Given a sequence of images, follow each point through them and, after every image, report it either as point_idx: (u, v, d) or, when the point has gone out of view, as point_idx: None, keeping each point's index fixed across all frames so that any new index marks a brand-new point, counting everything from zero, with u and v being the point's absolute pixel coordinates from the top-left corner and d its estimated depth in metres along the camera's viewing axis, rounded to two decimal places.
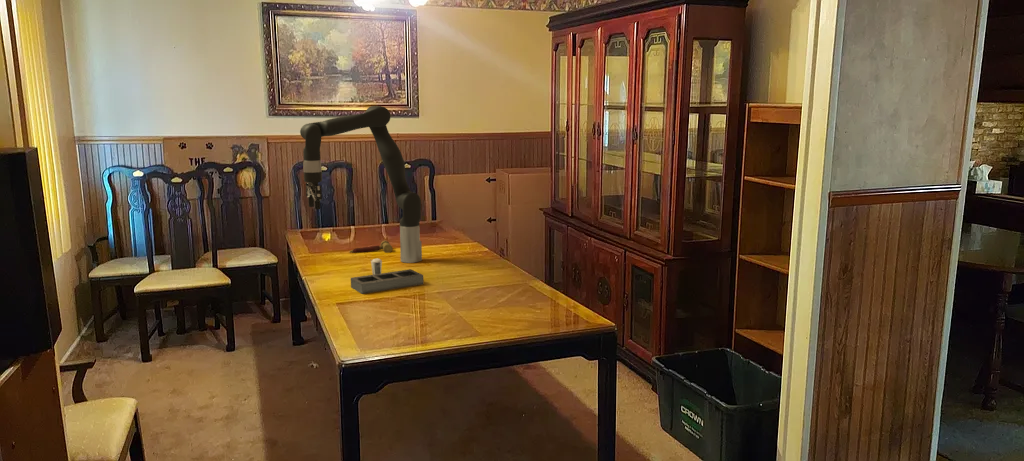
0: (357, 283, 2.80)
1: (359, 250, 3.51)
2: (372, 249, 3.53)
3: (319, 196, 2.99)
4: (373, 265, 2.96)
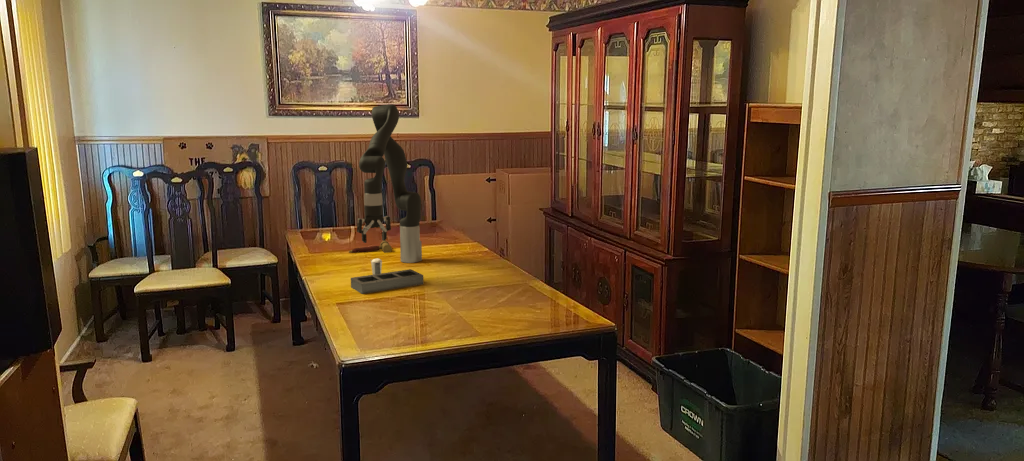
0: (357, 283, 2.80)
1: (359, 250, 3.51)
2: (371, 249, 3.53)
3: None
4: (373, 265, 2.96)
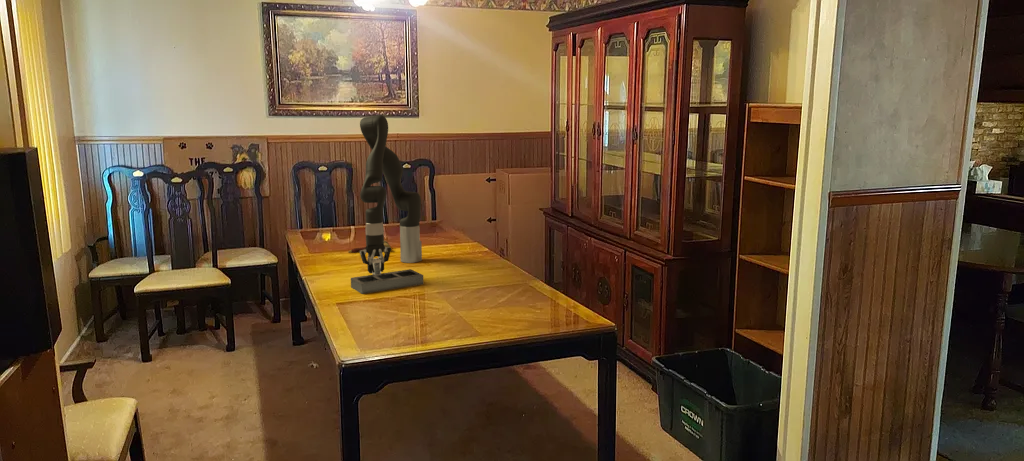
0: (357, 283, 2.80)
1: (358, 250, 3.51)
2: None
3: None
4: (373, 265, 2.96)
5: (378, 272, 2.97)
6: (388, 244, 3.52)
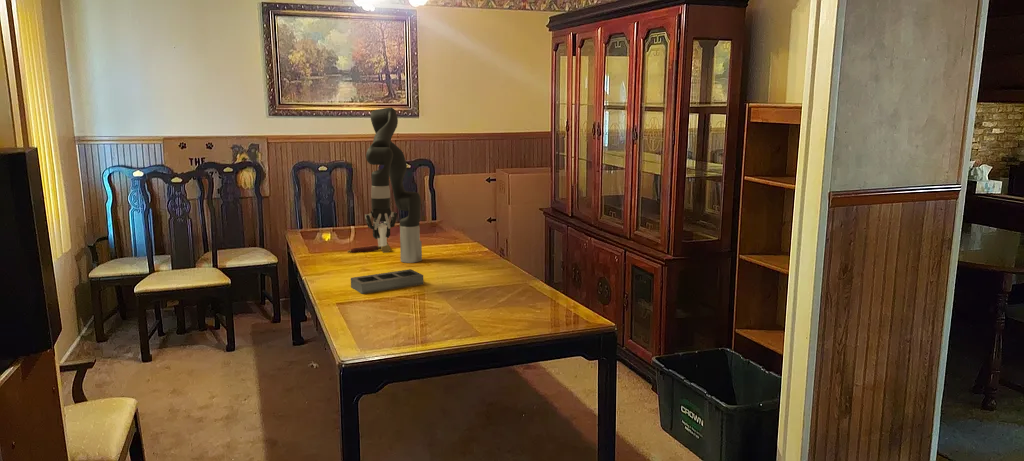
0: (357, 283, 2.80)
1: (357, 249, 3.51)
2: (370, 249, 3.53)
3: None
4: (378, 230, 2.84)
5: (383, 238, 2.85)
6: (387, 244, 3.52)
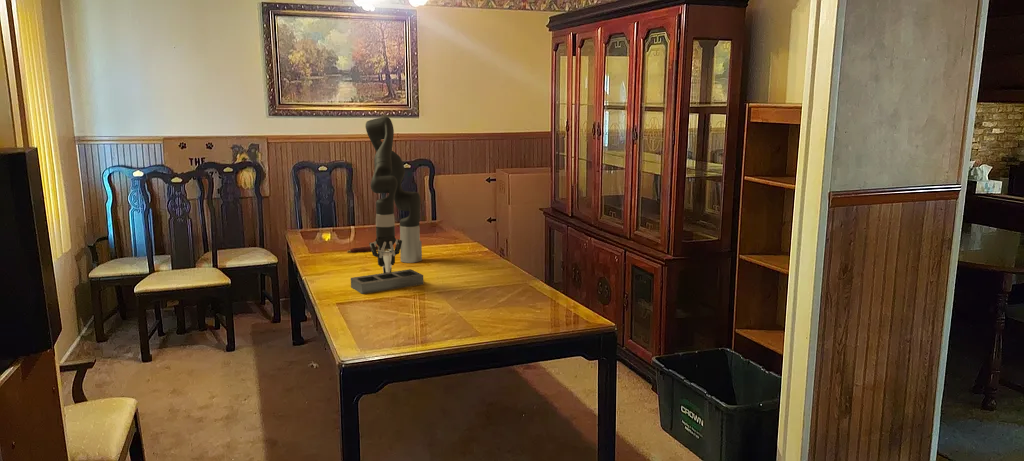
0: (357, 283, 2.80)
1: (357, 249, 3.51)
2: (370, 249, 3.53)
3: None
4: (383, 258, 2.85)
5: (388, 265, 2.86)
6: None
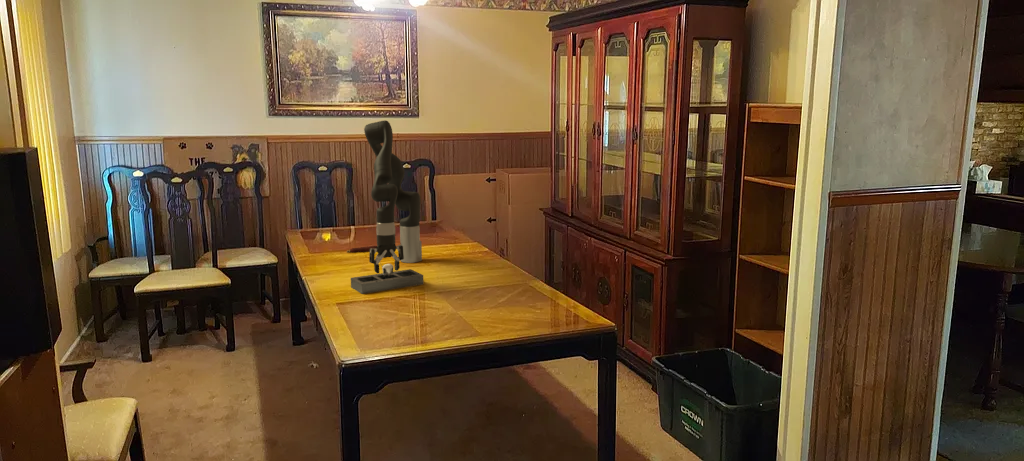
0: (357, 283, 2.80)
1: (357, 249, 3.51)
2: (369, 249, 3.53)
3: None
4: (384, 271, 2.86)
5: None
6: None
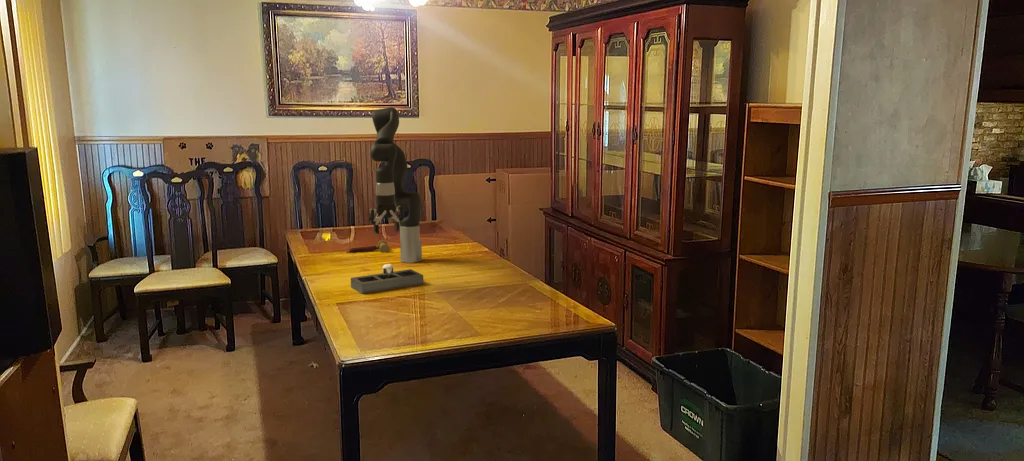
0: (357, 283, 2.80)
1: (356, 249, 3.51)
2: (369, 249, 3.53)
3: None
4: (384, 271, 2.86)
5: None
6: (386, 244, 3.52)
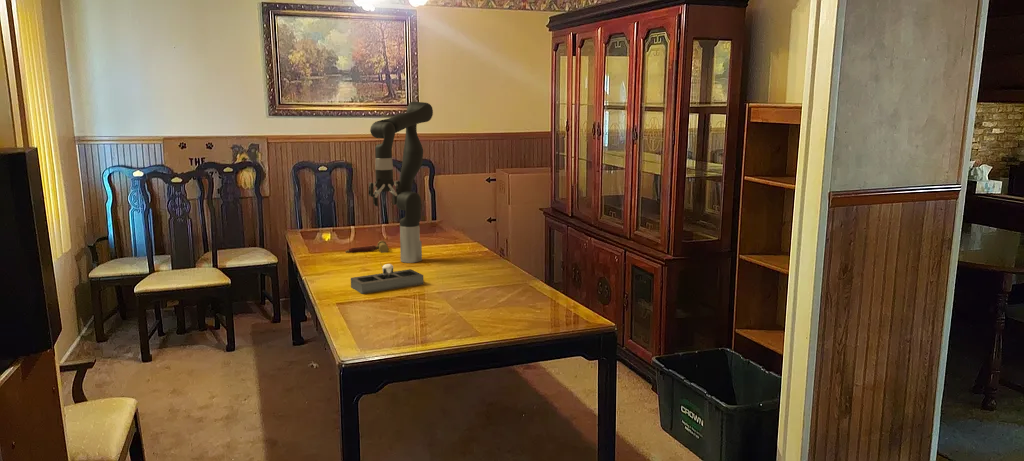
0: (357, 283, 2.80)
1: (355, 249, 3.51)
2: (368, 249, 3.53)
3: None
4: (384, 271, 2.86)
5: None
6: (385, 244, 3.52)
